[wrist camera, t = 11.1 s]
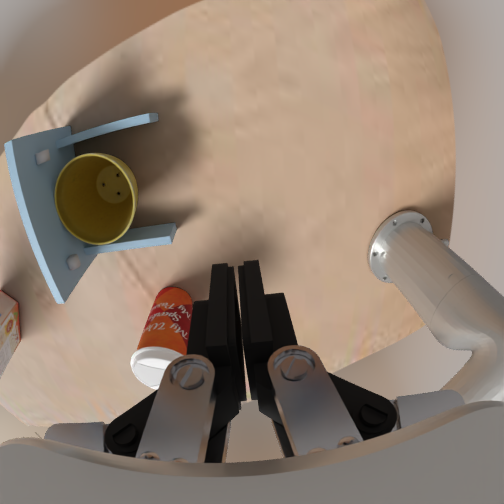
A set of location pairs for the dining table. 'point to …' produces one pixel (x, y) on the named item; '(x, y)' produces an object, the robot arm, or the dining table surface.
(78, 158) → the flower pot
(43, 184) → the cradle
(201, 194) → the dining table surface
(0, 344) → the cracker box
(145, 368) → the paper cup
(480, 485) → the robot arm
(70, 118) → the dining table surface
